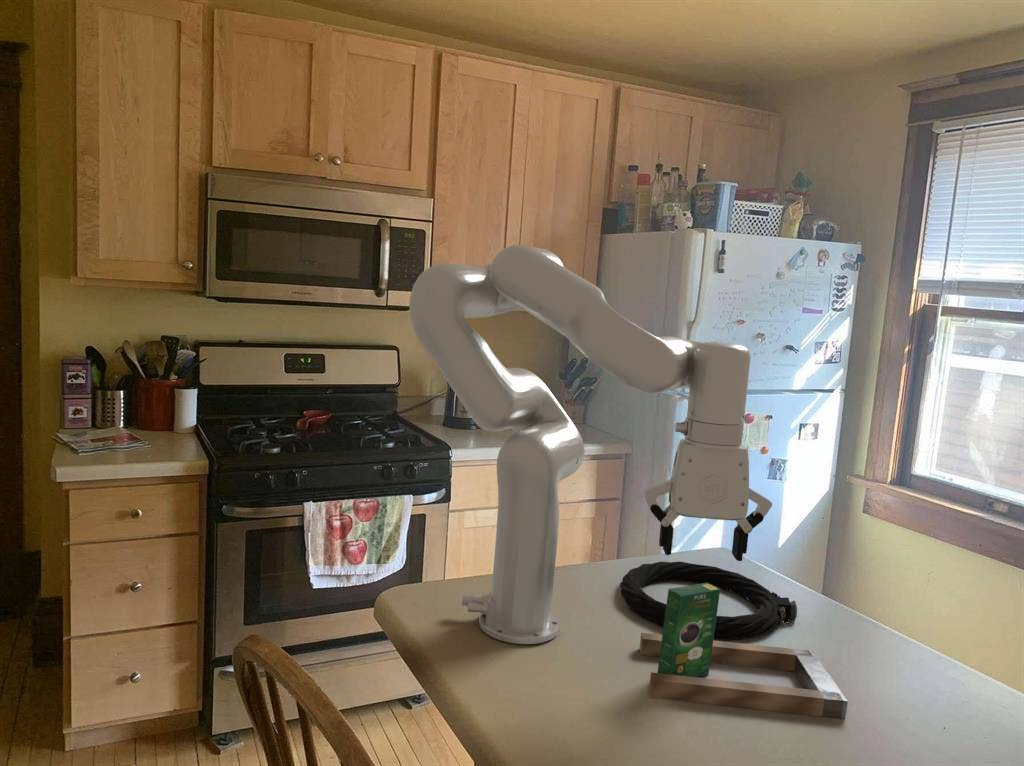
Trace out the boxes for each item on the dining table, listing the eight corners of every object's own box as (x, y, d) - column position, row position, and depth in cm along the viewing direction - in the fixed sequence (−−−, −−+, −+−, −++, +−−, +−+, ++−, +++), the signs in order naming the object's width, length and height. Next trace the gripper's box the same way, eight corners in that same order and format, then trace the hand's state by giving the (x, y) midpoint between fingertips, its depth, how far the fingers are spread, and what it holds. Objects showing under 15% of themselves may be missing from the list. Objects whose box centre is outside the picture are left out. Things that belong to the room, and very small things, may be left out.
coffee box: (696, 665, 112) (707, 579, 110) (711, 674, 109) (722, 587, 107) (655, 676, 107) (665, 587, 106) (669, 686, 105) (680, 595, 103)
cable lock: (625, 549, 149) (785, 573, 144) (623, 568, 150) (782, 592, 144) (615, 604, 123) (811, 636, 117) (613, 627, 123) (808, 659, 117)
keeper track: (650, 697, 101) (652, 679, 101) (639, 648, 115) (641, 632, 115) (845, 718, 100) (847, 701, 100) (810, 666, 114) (812, 650, 114)
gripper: (653, 433, 100) (641, 559, 102) (786, 443, 99) (772, 569, 102) (646, 424, 108) (636, 541, 110) (770, 433, 107) (757, 551, 109)
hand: (701, 554), depth 106 cm, fingers open, 9 cm apart
